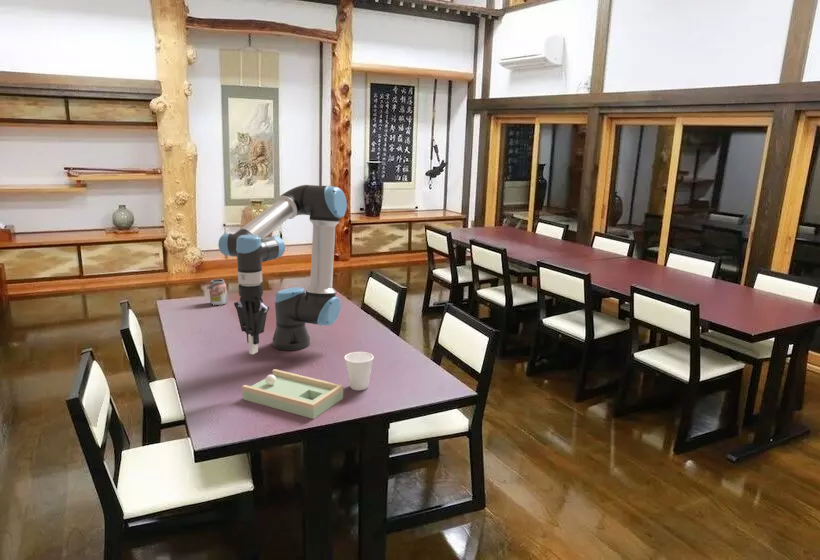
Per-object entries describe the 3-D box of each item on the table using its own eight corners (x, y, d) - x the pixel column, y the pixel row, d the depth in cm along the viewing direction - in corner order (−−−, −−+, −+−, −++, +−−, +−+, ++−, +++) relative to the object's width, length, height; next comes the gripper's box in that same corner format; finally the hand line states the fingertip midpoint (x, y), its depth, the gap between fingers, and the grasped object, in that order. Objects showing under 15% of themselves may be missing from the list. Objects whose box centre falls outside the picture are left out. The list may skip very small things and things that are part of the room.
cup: (345, 381, 202) (344, 351, 199) (373, 380, 203) (373, 351, 200) (344, 393, 193) (343, 362, 190) (374, 393, 193) (374, 362, 191)
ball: (263, 385, 191) (262, 375, 190) (270, 381, 194) (269, 372, 193) (271, 387, 189) (271, 377, 188) (278, 383, 192) (278, 374, 191)
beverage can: (205, 305, 287) (203, 282, 284) (213, 300, 295) (211, 278, 292) (222, 306, 286) (221, 283, 283) (230, 301, 294) (229, 279, 291)
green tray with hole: (243, 399, 187) (242, 386, 186) (275, 381, 201) (274, 369, 200) (313, 418, 175) (313, 405, 174) (343, 398, 189) (342, 385, 188)
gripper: (226, 283, 186) (230, 352, 191) (258, 288, 180) (261, 359, 185) (243, 278, 192) (246, 346, 198) (274, 283, 186) (276, 352, 192)
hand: (253, 352), depth 191 cm, fingers closed
